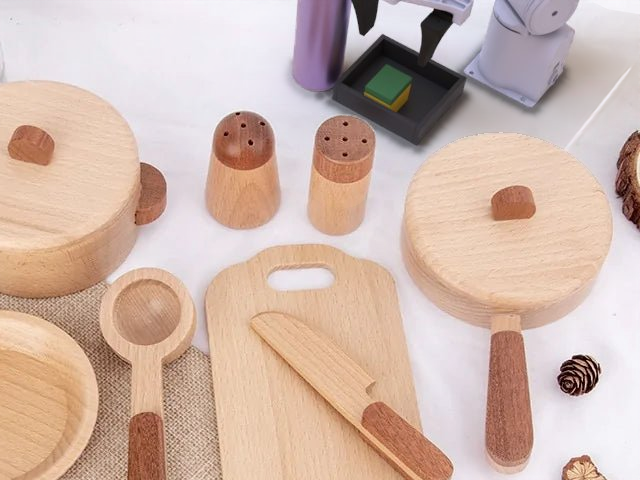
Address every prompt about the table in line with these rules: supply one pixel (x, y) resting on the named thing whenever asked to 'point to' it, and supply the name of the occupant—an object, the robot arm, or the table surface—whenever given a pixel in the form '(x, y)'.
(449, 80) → the tray
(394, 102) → the sponge
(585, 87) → the table surface
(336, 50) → the beverage can
